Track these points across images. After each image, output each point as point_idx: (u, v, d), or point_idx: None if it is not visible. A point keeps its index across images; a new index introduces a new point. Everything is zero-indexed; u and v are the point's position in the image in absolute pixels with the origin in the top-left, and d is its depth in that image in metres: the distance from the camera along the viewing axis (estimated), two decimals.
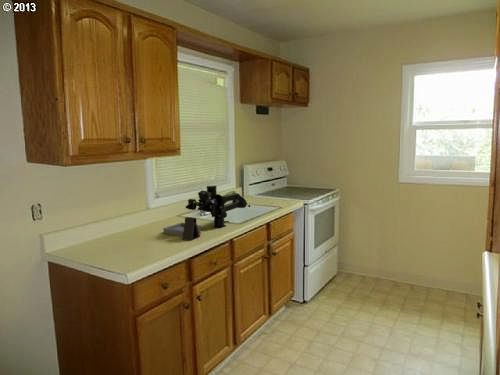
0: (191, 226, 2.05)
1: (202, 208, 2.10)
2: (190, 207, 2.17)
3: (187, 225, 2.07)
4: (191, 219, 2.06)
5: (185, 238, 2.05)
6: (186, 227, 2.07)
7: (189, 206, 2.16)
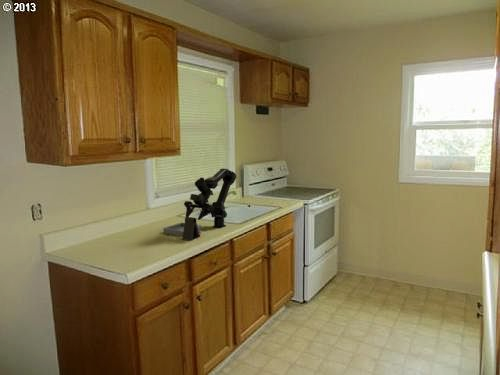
0: (191, 226, 2.05)
1: (202, 216, 2.07)
2: (190, 213, 2.14)
3: (187, 225, 2.07)
4: (191, 219, 2.06)
5: (185, 238, 2.05)
6: (186, 227, 2.07)
7: (188, 213, 2.13)
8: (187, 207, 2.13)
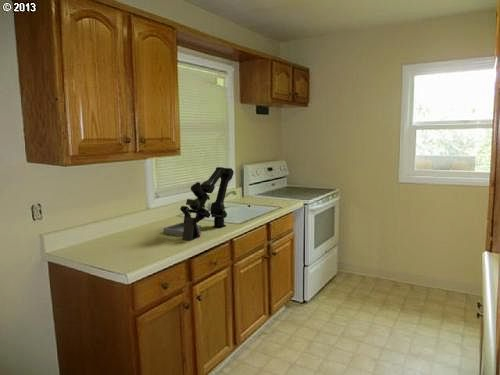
0: (191, 226, 2.05)
1: (196, 221, 2.05)
2: None
3: (187, 225, 2.07)
4: (191, 219, 2.06)
5: (185, 238, 2.05)
6: (186, 227, 2.07)
7: None
8: (185, 212, 2.10)
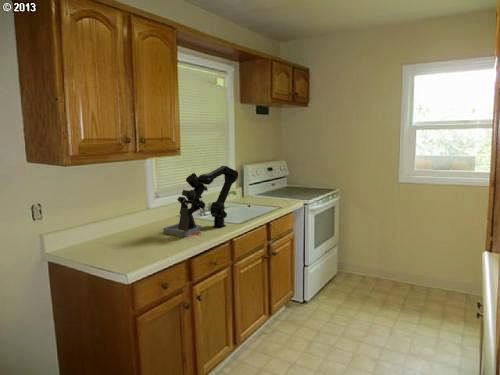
0: (186, 217, 2.08)
1: (191, 211, 2.08)
2: None
3: (183, 215, 2.10)
4: (186, 210, 2.09)
5: (180, 228, 2.09)
6: (182, 217, 2.10)
7: None
8: (182, 203, 2.13)
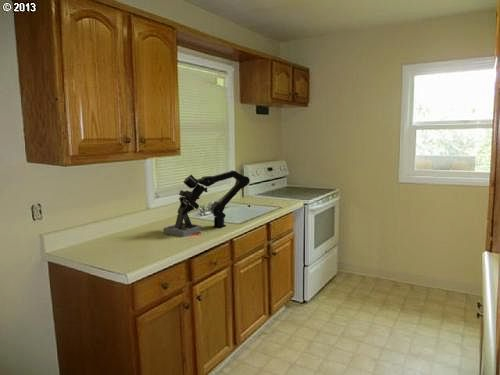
0: (181, 216, 2.19)
1: (185, 211, 2.18)
2: None
3: (179, 214, 2.22)
4: (182, 209, 2.20)
5: (176, 226, 2.21)
6: (178, 216, 2.22)
7: None
8: (181, 202, 2.25)
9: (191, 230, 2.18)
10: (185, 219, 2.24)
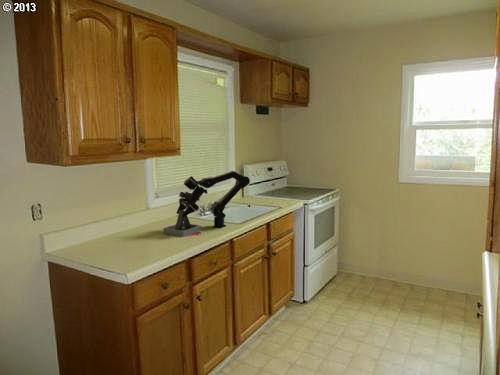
0: (181, 219, 2.19)
1: (186, 213, 2.17)
2: (182, 209, 2.27)
3: (179, 217, 2.22)
4: (182, 212, 2.20)
5: (176, 229, 2.21)
6: (178, 219, 2.22)
7: (180, 209, 2.26)
8: (180, 203, 2.26)
9: (191, 230, 2.18)
10: (185, 222, 2.24)
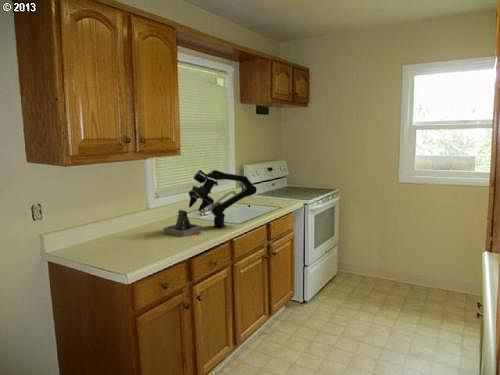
0: (181, 219, 2.19)
1: (202, 207, 2.21)
2: (193, 202, 2.29)
3: (179, 217, 2.22)
4: (182, 212, 2.20)
5: (176, 229, 2.21)
6: (178, 219, 2.22)
7: (192, 203, 2.27)
8: (191, 197, 2.27)
9: (191, 230, 2.18)
10: (185, 222, 2.24)
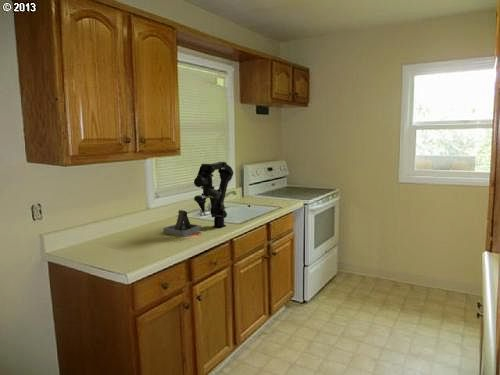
0: (181, 219, 2.19)
1: None
2: None
3: (179, 217, 2.22)
4: (182, 212, 2.20)
5: (176, 229, 2.21)
6: (178, 219, 2.22)
7: None
8: (204, 202, 2.14)
9: (191, 230, 2.18)
10: (185, 222, 2.24)
